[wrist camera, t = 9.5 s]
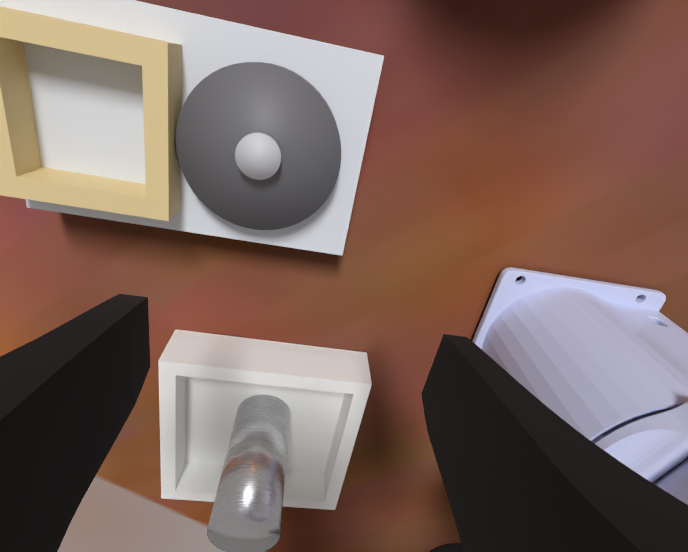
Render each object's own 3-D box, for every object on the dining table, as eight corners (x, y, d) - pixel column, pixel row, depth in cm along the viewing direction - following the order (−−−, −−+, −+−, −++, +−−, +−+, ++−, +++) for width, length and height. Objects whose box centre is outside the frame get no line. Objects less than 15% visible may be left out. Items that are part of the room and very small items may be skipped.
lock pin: (289, 393, 24) (277, 510, 18) (291, 433, 25) (281, 553, 19) (233, 395, 24) (202, 512, 17) (239, 434, 25) (212, 556, 19)
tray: (366, 352, 23) (371, 384, 21) (333, 473, 28) (335, 510, 26) (175, 329, 22) (158, 360, 20) (174, 460, 27) (161, 498, 24)
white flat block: (377, 56, 16) (390, 55, 13) (340, 238, 20) (344, 272, 17) (26, -22, 15) (-56, -45, 11) (55, 193, 18) (-1, 221, 15)
